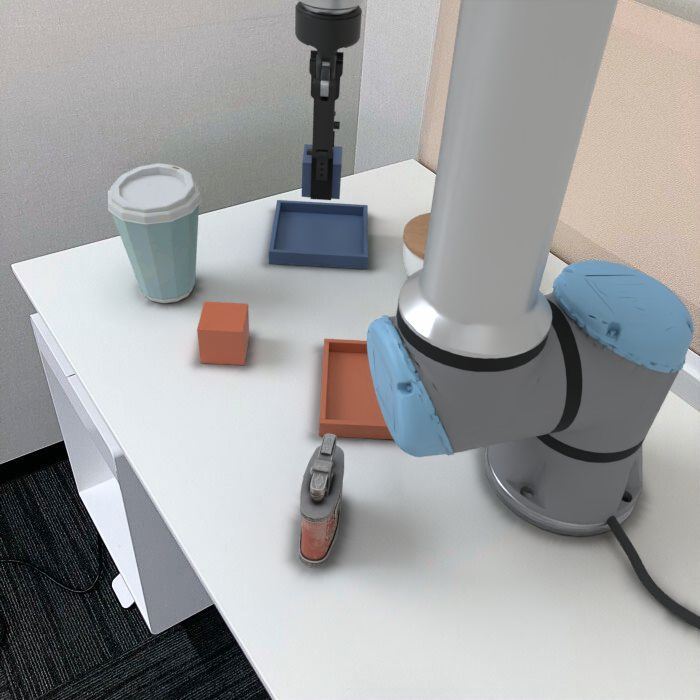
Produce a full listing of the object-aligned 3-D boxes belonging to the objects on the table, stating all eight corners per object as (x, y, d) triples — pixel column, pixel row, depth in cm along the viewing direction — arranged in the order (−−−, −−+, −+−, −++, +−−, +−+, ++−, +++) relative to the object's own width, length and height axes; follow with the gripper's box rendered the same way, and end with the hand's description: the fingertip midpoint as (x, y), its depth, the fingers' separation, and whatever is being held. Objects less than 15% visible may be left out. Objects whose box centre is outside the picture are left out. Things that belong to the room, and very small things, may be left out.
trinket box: (482, 311, 94) (496, 250, 88) (398, 306, 94) (406, 244, 87) (474, 262, 102) (486, 203, 96) (396, 257, 102) (403, 198, 95)
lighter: (329, 570, 65) (334, 502, 58) (292, 563, 65) (293, 495, 59) (345, 497, 71) (352, 428, 64) (311, 491, 71) (314, 421, 65)
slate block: (339, 199, 97) (341, 164, 94) (301, 197, 97) (302, 162, 93) (340, 180, 101) (342, 146, 97) (303, 178, 100) (304, 143, 97)
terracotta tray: (445, 442, 77) (447, 429, 76) (318, 436, 77) (319, 423, 75) (435, 356, 87) (437, 344, 86) (323, 351, 87) (324, 338, 85)
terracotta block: (244, 365, 84) (242, 332, 81) (200, 363, 84) (196, 329, 81) (249, 336, 88) (248, 303, 84) (207, 334, 88) (204, 301, 84)
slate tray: (367, 269, 99) (368, 256, 98) (268, 263, 99) (268, 251, 97) (366, 216, 109) (367, 204, 108) (277, 211, 109) (277, 199, 107)
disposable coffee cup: (172, 325, 88) (157, 217, 78) (104, 294, 92) (82, 187, 82) (226, 281, 95) (218, 177, 85) (161, 254, 99) (146, 151, 89)
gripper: (300, -23, 89) (298, 153, 105) (289, 29, 76) (288, 222, 92) (362, -19, 90) (350, 156, 105) (362, 34, 76) (349, 225, 92)
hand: (321, 186), depth 98 cm, fingers closed on slate block, 5 cm apart
